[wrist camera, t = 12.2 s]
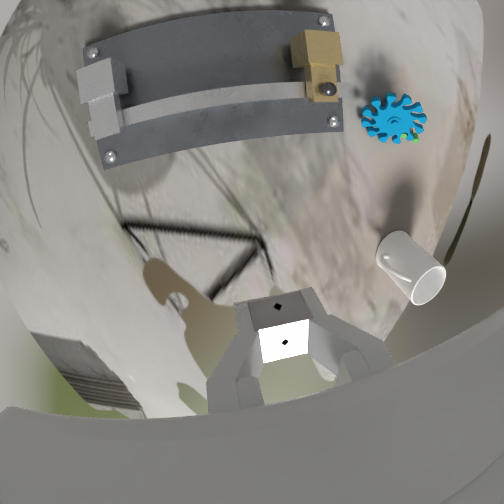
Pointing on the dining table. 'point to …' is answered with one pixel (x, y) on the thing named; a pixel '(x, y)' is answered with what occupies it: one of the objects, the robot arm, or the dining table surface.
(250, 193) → the dining table surface
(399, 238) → the mug
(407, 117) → the gear
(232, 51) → the bolt plate
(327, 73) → the block
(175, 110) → the trammel bar
